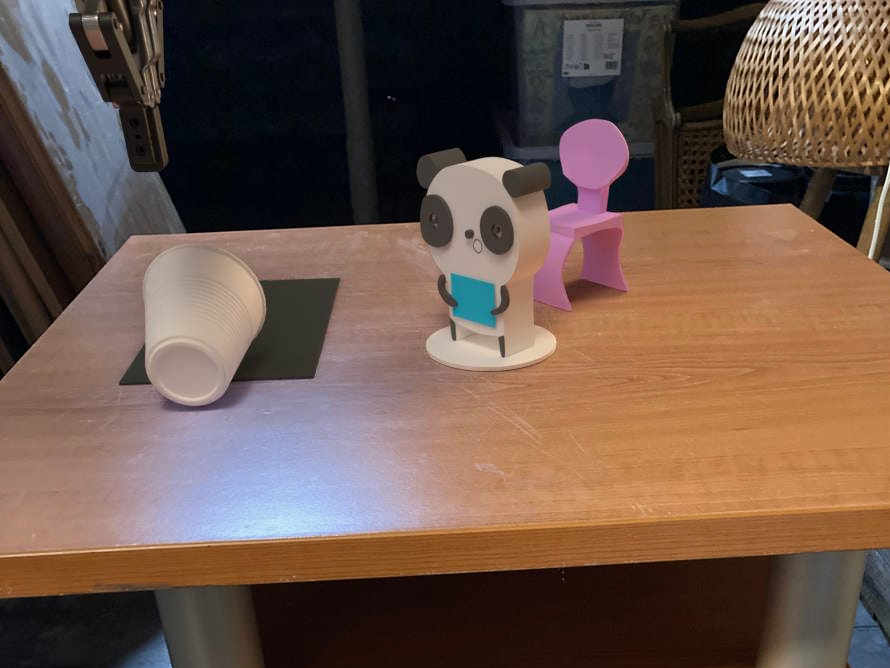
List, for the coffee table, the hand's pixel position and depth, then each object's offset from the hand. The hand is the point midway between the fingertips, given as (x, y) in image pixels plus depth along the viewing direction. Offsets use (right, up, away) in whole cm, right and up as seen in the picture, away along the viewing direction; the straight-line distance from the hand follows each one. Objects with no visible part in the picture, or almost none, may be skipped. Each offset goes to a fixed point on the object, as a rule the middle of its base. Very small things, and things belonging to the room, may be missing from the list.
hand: (150, 169), depth 66 cm
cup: (0, -12, +8) cm, 14 cm away
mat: (0, -2, +26) cm, 26 cm away
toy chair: (+31, +2, +31) cm, 44 cm away
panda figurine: (+23, -6, +21) cm, 31 cm away
